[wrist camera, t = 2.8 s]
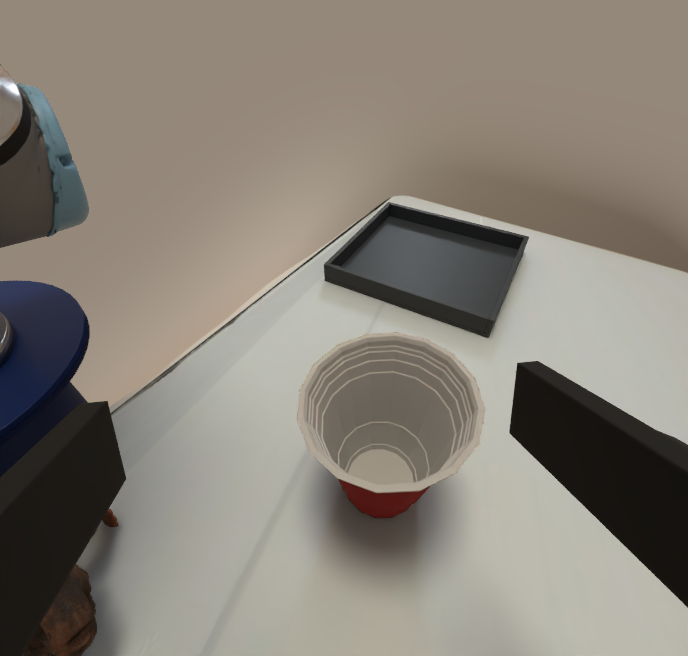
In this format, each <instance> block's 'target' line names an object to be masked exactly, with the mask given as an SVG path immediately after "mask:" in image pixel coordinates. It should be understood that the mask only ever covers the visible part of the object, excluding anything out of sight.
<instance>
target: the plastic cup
mask: <svg viewBox="0 0 688 656" xmlns="http://www.w3.org/2000/svg"><path fill="white" fill-rule="evenodd" d="M484 413H485V407H484V404H483V401H482V398H481V395H480V392H479V388H478V385H477V382H476V379H475V378H474V377H473V375H472V374H471V373H470V372H469V371H468V370H467V368H466V367H465V366H464V365H463V364H462V363H461V361H460V360H459V359H458V358H457V357H456V356H455V355H454V354H453V353H451V352H449V351H447V350H446V349H444V348H442V347H440V346H438V345H437V344H435V343H433V342H431V341H430V340H428V339H425V338H420V337H416V336H411V335H407V334H402V333H398V332H392V333H377V334H365V335H362V336H360V337H357V338H354V339H352V340H349V341H346V342H344V343H341V344H338V345H336V346H335V347H334V348H333V349H332V350H330V351H329V352H328V353H327V354H325V355H324V356H323V357H322V358H320V359H319V360H318V361H317V362H316V363H314V365H313V366H312V368H311V370H310V372H309V374H308V375H307V377H306V379H305V381H304V383H303V384H302V386H301V388H300V390H299V402H298V414H297V422H298V424H299V427H300V429H301V432H302V434H303V437H304V440H305V442H306V445H307V447H308V450H309V452H310V453H311V454H312V455H313V456H314V457H315V458H316V459H317V460H319V461H320V462H321V463H322V464H323V465H324V466H325V467H326V468H327V469H328V470H329V471H330V472H331V473H332V474H333V475H334V476H335V477H336V478H338V480H339V482H340V484H341V486H342V488H343V489H344V490H345V491H346V493H347V496H348V498H349V500H350V501H351V502H352V503H353V504H354V505H355V506H356V507H357V508H358V509H359V510H360V511H361V512H363V513H365V514H368V515H370V516H373V517H375V518H391V517H394V516H396V515H398V514H400V513H402V512H404V511H406V510H407V509H408V508H409V507H410V506H411V505H412V504H414V503H415V502H416V501H417V500H418V499H419V498H420V497H421V496H422V495H423V494H424V492H425V491H426V490H427V489H428V488H429V487H430V486H431V485H433V484H435V483H437V482H439V481H441V480H443V479H445V478H447V477H449V476H451V475H453V474H455V473H457V472H458V470H459V469H460V468H461V466H462V465H463V464H464V462H465V461H466V460H467V459H468V457H469V456H470V455H471V453H472V452H473V451H474V449H475V448H476V447H477V446H478V444H479V443H480V438H481V431H482V425H483V419H484Z"/></svg>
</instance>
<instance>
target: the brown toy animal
mask: <svg viewBox="0 0 688 656" xmlns="http://www.w3.org/2000/svg"><path fill="white" fill-rule="evenodd" d="M102 520H103V522H104V523H105V524H106V525H107V526H109V527H117V526H118V523H117V518H116V517H115V516H114V515H113V512H112V510H111V509H110V508H109V509H108V510H107V512H106V514H105V515H104V517H103V519H102ZM96 530H97V529H96ZM95 532H96V531H95ZM95 532H94V534H95ZM94 534H93V535H94ZM90 591H91V586H90V583H89V576H88V573H87V572H86V571H84V570H82V569H81V568H79V566H78V565H76V564H75V566H74V568H73V569H72V571H71V573H70V574H69V576H68V578H67V579H66V581H65V583H64V584H63V586H62V588H61V589H60V591H59V593H58V595H57V596H56V598H55V600H54V601H53V603H52V605H51V606H50V608H49V610H48V611H47V613H46V615H45V616H44V618H43V620H42V621H41V623H40V625H39V626H38V628H37V630H36V632H35V633H34V635H33V637H32V638H31V640H30V642H29V643H28V645H27V647H26V648H25V650H24V652H23V653H22V655H21V656H53V655H52V654H50V653H54V654H55V656H81V655H82V653H83V652H84V651H85V650H86V649H87V648H88V647H89V646H90V645H91V644H92V642H93V640H94V637H95V635H96V633H97V624H96V620H95V616H94V615H95V612H96V610H95V603H94V601H93V600H92V597H91V595H90Z"/></svg>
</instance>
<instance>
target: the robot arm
mask: <svg viewBox="0 0 688 656" xmlns="http://www.w3.org/2000/svg"><path fill="white" fill-rule="evenodd" d="M88 212H89V207H88V201H87V198H86V194H85V191H84V187H83V184H82V182H81V179H80V176H79V173H78V171H77V168H76V166H75V164H74V161H73V160H72V156H71V153H70V151H69V148H68V145H67V142H66V139H65V137H64V135H63V132H62V130H61V128H60V125H59V123H58V121H57V118H56V116H55V114H54V112H53V110H52V108H51V106H50V104H49V102H48V100H47V98H46V97H45V95H44V94H43V92H42V91H41V90H40V89H38V88H37V87H34V86H25V85H23V84H20V83H19V84H16V83H15V81H14V79H13V78H12V77H11V76H10V75H9V73H8V72H7V71H6V70H5V69H4V68H3V67H2V65H0V248H1V247H5V246H9V245H13V244H17V243H21V242H25V241H28V240H33V239H37V238H41V237H45V236H47V237H49V236H52V235H54V234H55V233H56V232H58V231H61V230H64V229H67V228H70V227H73V226H76V225H79V224H81V223H83V222H84V221H85V220H86V218H87V216H88ZM16 337H17V336H16V331H15V328H14V327H13V325H12V324H11V323H10V322H9V321H8V319H7V318H6V317H5V316H4V315H3V314H2V313H1V312H0V368H1V367H2V366H3V365H4V364H5V362H6V361H7V360H8V358H9V357H10V355H11V353H12V351H13V349H14V347H15V344H16ZM509 433H510V434H511V435H512V436H513V437H514V438H515V439H516V440H517V441H518V442H519V443H520V444H521V445H522V446H523V447H524V448H525V449H526V450H527V451H528V452H529V453H530V454H531V455H532V456H533V457H534V458H536V459H537V460H538V461H539V462H540V463H541V464H542V465H543V466H544V467H545V468H546V469H547V470H548V471H549V472H550V473H551V474H552V475H553V476H554V477H555V478H556V479H557V480H558V481H559V482H560V483H561V484H562V485H563V486H564V487H565V488H566V489H567V490H568V491H569V492H570V493H571V494H572V495H573V496H574V497H575V498H576V499H577V500H578V501H579V502H581V503H582V504H583V505H584V506H585V507H586V508H587V509H588V510H589V511H590V512H591V513H592V514H593V515H594V516H595V517H596V518H597V519H598V520H599V521H600V522H601V523H602V524H603V525H604V526H605V527H606V528H607V529H608V530H609V531H610V532H611V533H612V534H613V535H614V536H615V537H616V538H617V539H618V540H619V541H620V542H621V543H622V544H623V545H624V546H626V547H627V548H628V549H629V550H630V551H631V552H632V553H633V554H634V555H635V556H636V557H637V558H638V559H639V560H640V561H641V562H642V563H643V564H644V565H645V566H646V567H647V568H648V569H649V570H650V571H651V572H652V573H653V574H654V575H655V576H656V577H657V578H658V579H659V580H660V581H661V582H662V583H663V584H664V585H665V586H666V587H667V588H668V589H669V590H671V591H672V592H673V593H674V594H675V595H676V596H677V597H678V598H679V599H680V600H681V601H682V602H683V603H684V604H685V605H686V606H687V607H688V445H687V444H685V443H683V442H682V441H680V440H678V439H677V438H674V437H672V436H669V435H667V434H664V433H662V432H659V431H657V430H655V429H653V428H652V427H650V426H648V425H646V424H645V423H643V422H641V421H640V420H638V419H636V418H634V417H633V416H631V415H629V414H628V413H626V412H624V411H622V410H621V409H619V408H617V407H616V406H614V405H612V404H610V403H609V402H607V401H605V400H604V399H602V398H600V397H598V396H597V395H595V394H593V393H592V392H590V391H588V390H587V389H585V388H583V387H581V386H580V385H578V384H576V383H575V382H573V381H571V380H569V379H568V378H566V377H564V376H563V375H561V374H559V373H557V372H556V371H554V370H552V369H551V368H549V367H547V366H545V365H544V364H542V363H540V362H539V361H534V362H523V363H517V371H516V380H515V389H514V397H513V406H512V415H511V424H510V432H509ZM125 480H126V476H125V472H124V468H123V463H122V459H121V455H120V451H119V447H118V443H117V439H116V435H115V431H114V426H113V422H112V418H111V414H110V410H109V406H108V402H107V401H104V402H93V403H82V404H79V405H78V406H76V407H75V408H74V409H73V410H72V411H71V412H70V413H69V414H68V415H67V416H66V417H65V418H64V419H62V420H61V421H60V422H59V423H58V424H57V425H56V426H55V427H54V428H53V429H52V430H51V431H50V432H49V433H47V434H46V435H45V436H44V437H43V438H42V439H41V440H40V441H39V442H38V443H37V444H36V445H35V446H34V447H32V448H31V449H30V450H29V451H28V452H27V453H26V454H25V455H24V456H23V457H22V458H21V459H20V460H19V461H17V462H16V463H15V464H14V465H13V466H12V467H11V468H10V469H9V470H8V471H7V472H6V473H5V474H3V475H2V476H1V477H0V656H21V655H22V653H23V652H24V650H25V648H26V647H27V645H28V643H29V642H30V640H31V638H32V637H33V635H34V633H35V632H36V630H37V628H38V626H39V625H40V623H41V621H42V620H43V618H44V616H45V615H46V613H47V611H48V610H49V608H50V606H51V605H52V603H53V601H54V600H55V598H56V596H57V595H58V593H59V591H60V589H61V588H62V586H63V584H64V583H65V581H66V579H67V578H68V576H69V574H70V573H71V571H72V569H73V568H74V566H75V564H76V563H77V561H78V559H79V557H80V556H81V554H82V552H83V551H84V549H85V547H86V546H87V544H88V542H89V541H90V539H91V537H92V536H93V534H94V532H95V531H96V529H97V527H98V525H99V524H100V522H101V520H102V519H103V517H104V515H105V514H106V512H107V510H108V509H109V507H110V505H111V504H112V502H113V500H114V499H115V497H116V495H117V494H118V492H119V490H120V488H121V487H122V485H123V483H124V482H125Z"/></svg>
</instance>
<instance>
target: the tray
mask: <svg viewBox="0 0 688 656" xmlns="http://www.w3.org/2000/svg"><path fill="white" fill-rule="evenodd" d="M528 239H529V237H528V236H524V235H520V234H516V233H512V232H508V231H503V230H499V229H495V228H491V227H487V226H483V225H479V224H475V223H471V222H467V221H463V220H459V219H455V218H451V217H447V216H443V215H439V214H434V213H430V212H426V211H422V210H418V209H414V208H410V207H406V206H402V205H398V204H394V203H390V202H388V203H387V204H386V205H385V206H384V207H383V208H382V209H381V210H380V211H379V212H378V213H377V214H376V215H375V216H374V217H373V218H371V219H370V220H369V221H368V222H367V223H366V224H365V225H364V226H363V227H362V228H361V229H360V230H359V231H358V232H357V233H356V234H355V235H354V236H353V237H352V238H351V239H350V240H349V241H348V242H347V243H346V244H345V245H344V246H343V247H342V248H341V249H340V250H339V251H337V252H336V253H335V254H334V255H333V256H332V257H331V258H330V259H329V260H328V261H327V262H326V263H325V264H324V273H325V280H326V281H329V282H331V283H334V284H337V285H340V286H343V287H346V288H349V289H351V290H354V291H357V292H360V293H363V294H366V295H368V296H371V297H374V298H377V299H380V300H383V301H386V302H388V303H391V304H394V305H397V306H400V307H403V308H406V309H408V310H411V311H414V312H417V313H420V314H423V315H426V316H428V317H431V318H434V319H437V320H440V321H443V322H446V323H448V324H451V325H454V326H457V327H460V328H463V329H466V330H468V331H471V332H474V333H477V334H480V335H483V336H485V337H489V334H490V332H491V330H492V327H493V325H494V322H495V320H496V317H497V315H498V313H499V310H500V308H501V305H502V303H503V300H504V298H505V295H506V293H507V291H508V288H509V286H510V283H511V281H512V278H513V276H514V274H515V271H516V269H517V266H518V264H519V261H520V259H521V256H522V254H523V252H524V249H525V246H526V244H527V241H528Z"/></svg>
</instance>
